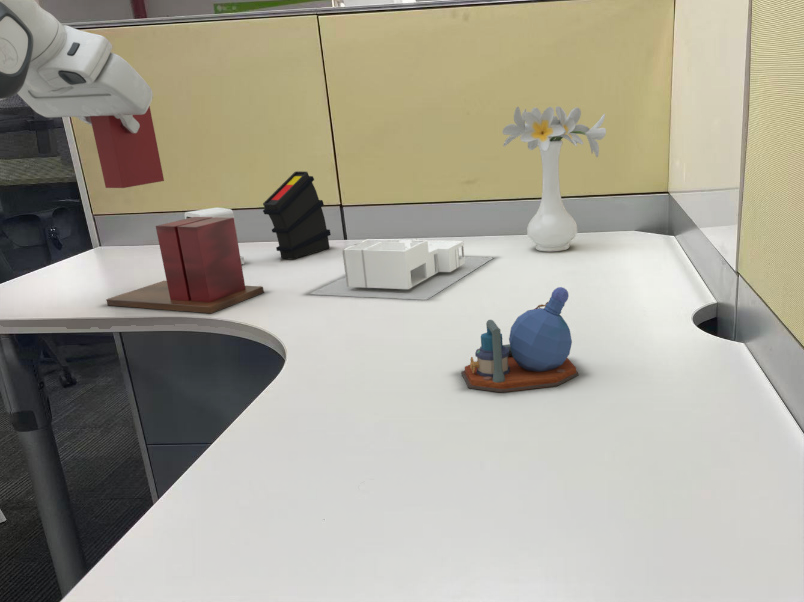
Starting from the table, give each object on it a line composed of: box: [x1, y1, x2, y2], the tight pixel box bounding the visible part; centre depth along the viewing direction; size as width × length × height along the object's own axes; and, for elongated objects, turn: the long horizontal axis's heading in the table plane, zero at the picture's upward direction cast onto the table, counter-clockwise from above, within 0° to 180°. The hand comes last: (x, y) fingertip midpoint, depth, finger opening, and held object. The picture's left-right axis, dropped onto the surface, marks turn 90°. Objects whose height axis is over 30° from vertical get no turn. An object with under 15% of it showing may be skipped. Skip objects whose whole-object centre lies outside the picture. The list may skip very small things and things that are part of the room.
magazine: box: [262, 170, 332, 260], centre depth 151 cm, size 4×13×15 cm, turn 152°
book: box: [90, 105, 165, 189], centre depth 119 cm, size 8×4×11 cm, turn 158°
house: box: [309, 238, 494, 301], centre depth 129 cm, size 22×18×6 cm
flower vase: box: [501, 105, 607, 253], centre depth 144 cm, size 13×18×25 cm
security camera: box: [184, 207, 246, 265], centre depth 145 cm, size 6×7×10 cm
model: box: [460, 286, 579, 393], centre depth 85 cm, size 12×9×9 cm
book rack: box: [106, 217, 265, 314], centre depth 122 cm, size 12×20×12 cm, turn 69°
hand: (122, 130), depth 118 cm, fingers closed on book, 3 cm apart
